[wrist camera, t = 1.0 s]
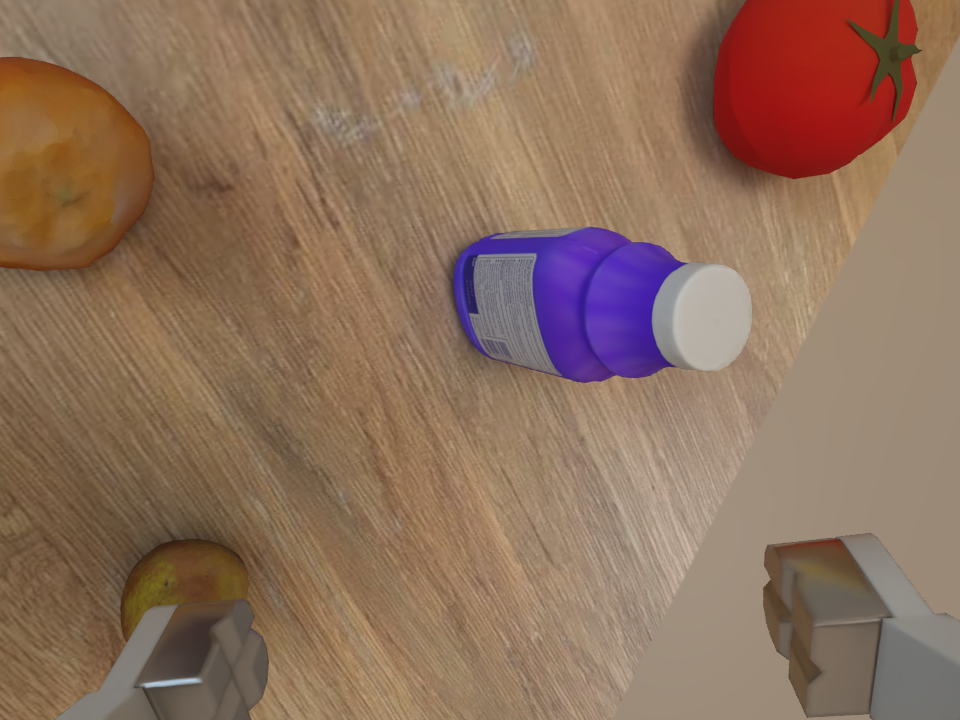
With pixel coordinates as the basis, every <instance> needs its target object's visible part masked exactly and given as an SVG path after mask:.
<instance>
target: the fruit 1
mask: <svg viewBox="0 0 960 720" xmlns="http://www.w3.org/2000/svg"><path fill="white" fill-rule="evenodd" d="M153 181H154V172H153V166H152V159H151V147H150V140H149V139H148V137H147V135H146V134H145V131H144V129H143V128H142V127H141V126H140V125H139V124H138V123H137V122H136V121H135V119H134V118H133V117H132V116H131V115H130V114H129V112H128V111H127V110H126V109H125V108H124V107H123V106H122V105H121V104H120V103H119V102H118V101H117V100H116V99H115V98H114V97H113V96H112V95H110V94H109V93H108V92H107V91H106V90H104V89H103V88H102V87H100V86H99V85H98V84H96V83H94V82H93V81H91V80H89V79H87V78H85V77H83V76H81V75H79V74H77V73H75V72H72V71H70V70H68V69H65V68H63V67H60V66H57V65H54V64H51V63H47V62H43V61H38V60H33V59H27V58H21V57H2V58H0V267H5V268H20V269H29V270H36V271H42V270H63V269H78V268H85V267H88V266H90V265H91V264H92V263H94V262H95V261H96V260H98V259H99V258H101V257H102V256H104V255H105V254H107V253H109V252H110V251H112V250H113V249H114V248H115V247H116V246H117V244H118V243H119V242H120V240H121V239H122V237H123V236H124V235H125V233H126V232H127V231H128V230H129V228H130V227H131V226H132V225H133V224H134V223H135V222H136V221H137V220H138V219H139V218H140V217H141V216H142V214H143V213H144V211H145V208H146V206H147V203H148V200H149V197H150V193H151V188H152V185H153Z"/></svg>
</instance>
